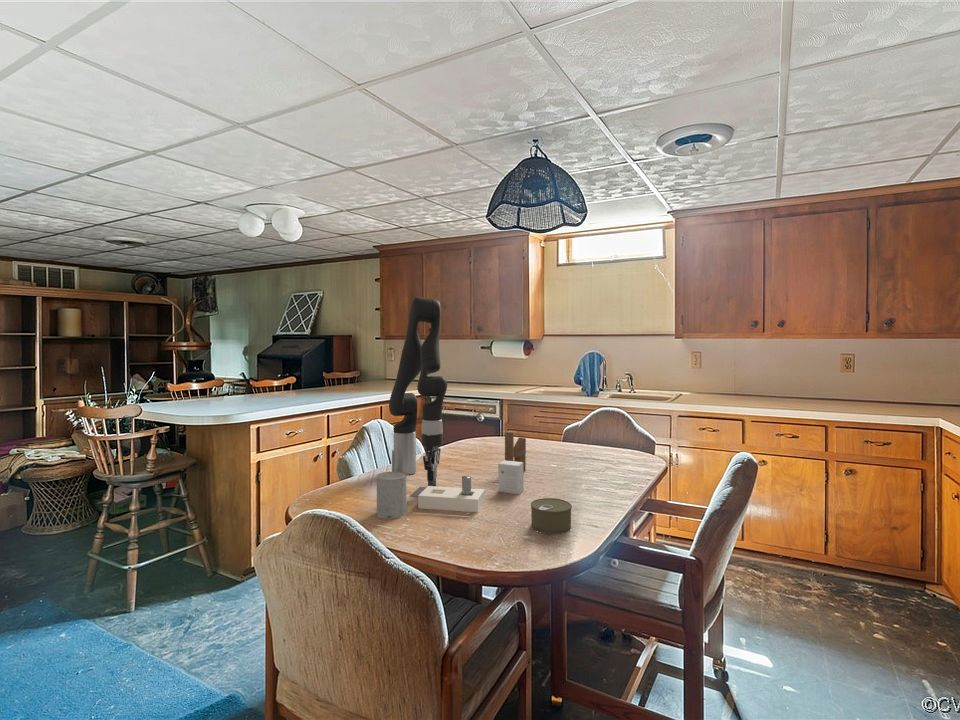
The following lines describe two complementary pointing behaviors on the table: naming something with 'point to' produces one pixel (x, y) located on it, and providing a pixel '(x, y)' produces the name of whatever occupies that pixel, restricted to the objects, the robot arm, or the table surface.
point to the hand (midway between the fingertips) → (431, 479)
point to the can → (551, 516)
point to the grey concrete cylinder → (391, 495)
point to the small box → (510, 477)
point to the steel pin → (433, 483)
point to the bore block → (451, 499)
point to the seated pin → (466, 485)
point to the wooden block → (515, 449)
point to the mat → (417, 492)
